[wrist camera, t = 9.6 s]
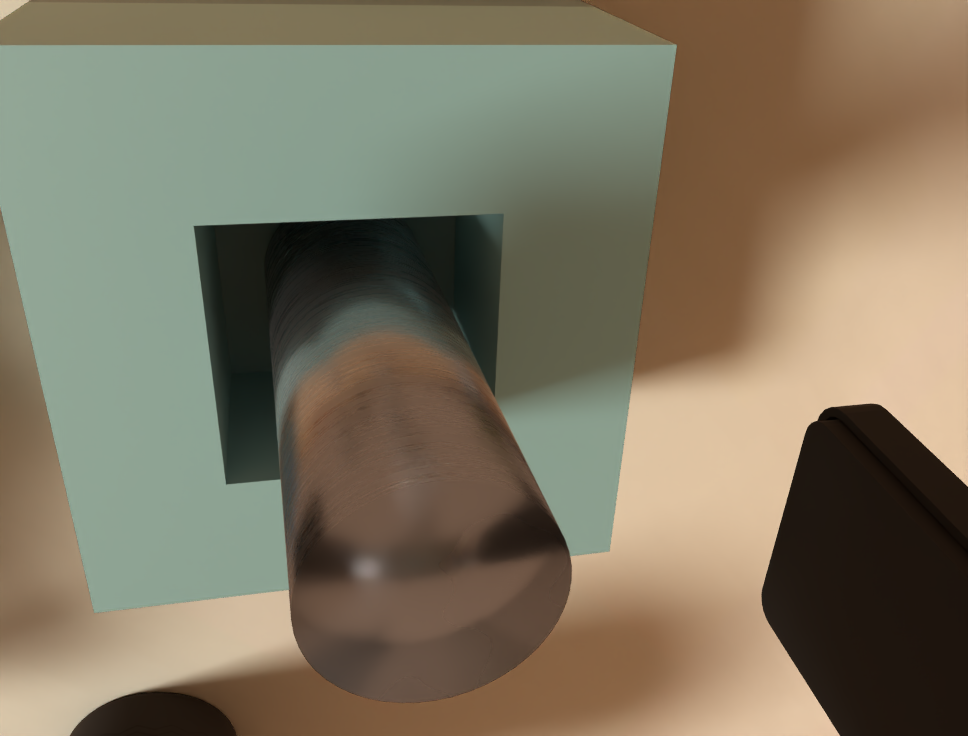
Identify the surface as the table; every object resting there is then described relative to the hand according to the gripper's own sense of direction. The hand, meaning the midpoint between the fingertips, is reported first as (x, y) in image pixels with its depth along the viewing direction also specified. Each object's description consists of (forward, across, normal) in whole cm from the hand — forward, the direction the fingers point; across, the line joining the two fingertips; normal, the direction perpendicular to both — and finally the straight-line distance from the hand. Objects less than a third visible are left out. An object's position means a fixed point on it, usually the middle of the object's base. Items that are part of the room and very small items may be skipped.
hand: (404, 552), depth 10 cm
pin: (+10, 0, +1) cm, 10 cm away
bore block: (+12, 0, +1) cm, 12 cm away
